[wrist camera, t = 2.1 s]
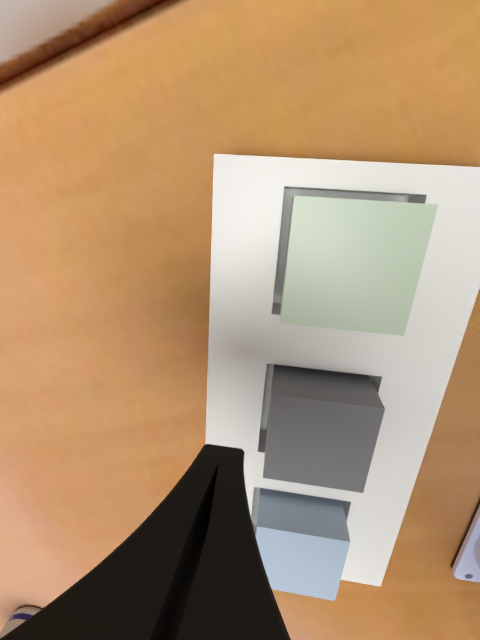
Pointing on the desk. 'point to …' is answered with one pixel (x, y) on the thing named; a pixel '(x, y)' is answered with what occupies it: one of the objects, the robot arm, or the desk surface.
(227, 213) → the keypad
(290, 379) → the charcoal key
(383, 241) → the sage key
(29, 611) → the energy drink
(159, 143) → the desk surface
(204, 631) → the robot arm
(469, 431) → the desk surface
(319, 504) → the blue key
